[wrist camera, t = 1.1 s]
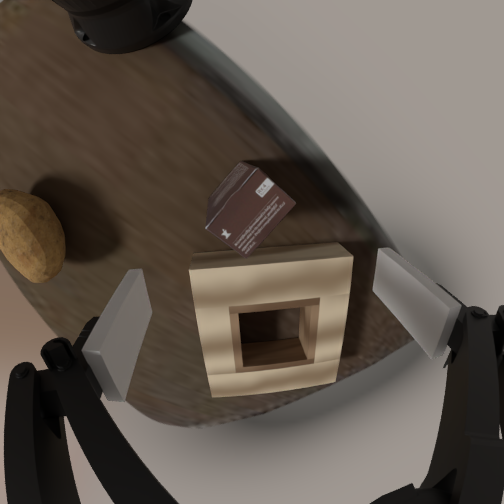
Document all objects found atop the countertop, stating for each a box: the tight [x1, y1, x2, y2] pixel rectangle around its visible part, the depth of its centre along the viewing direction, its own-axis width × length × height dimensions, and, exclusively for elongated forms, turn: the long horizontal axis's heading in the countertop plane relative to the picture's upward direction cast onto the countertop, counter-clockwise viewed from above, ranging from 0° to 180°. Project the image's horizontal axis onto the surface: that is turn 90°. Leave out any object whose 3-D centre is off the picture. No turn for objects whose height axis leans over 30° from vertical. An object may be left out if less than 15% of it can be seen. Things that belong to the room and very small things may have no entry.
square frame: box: [189, 242, 353, 397], centre depth 36 cm, size 20×18×5 cm
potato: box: [0, 189, 66, 283], centre depth 27 cm, size 10×14×8 cm
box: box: [206, 161, 296, 259], centre depth 26 cm, size 6×4×12 cm
